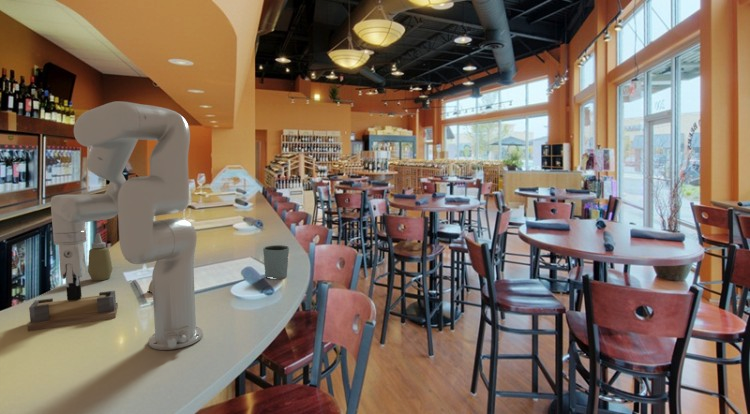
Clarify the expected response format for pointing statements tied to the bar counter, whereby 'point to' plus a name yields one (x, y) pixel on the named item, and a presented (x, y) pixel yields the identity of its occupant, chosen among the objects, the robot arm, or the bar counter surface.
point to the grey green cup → (276, 261)
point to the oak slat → (72, 306)
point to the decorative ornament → (150, 287)
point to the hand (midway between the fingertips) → (74, 298)
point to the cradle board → (42, 318)
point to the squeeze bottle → (99, 260)
